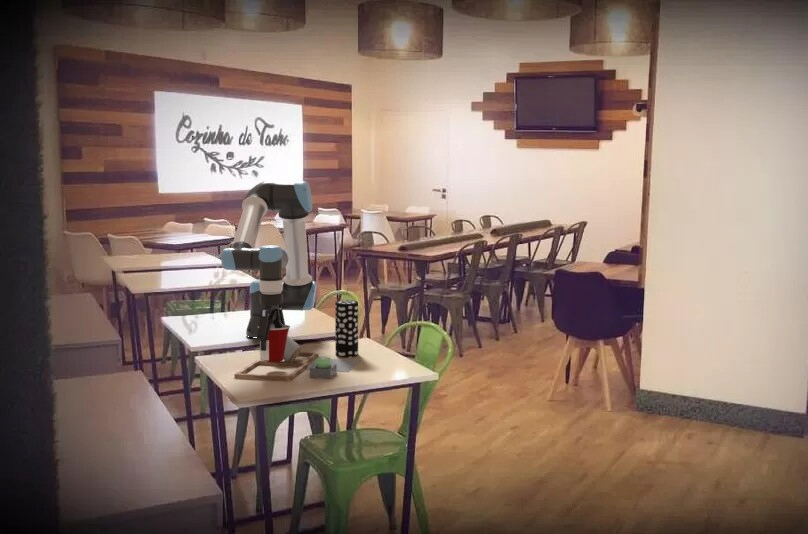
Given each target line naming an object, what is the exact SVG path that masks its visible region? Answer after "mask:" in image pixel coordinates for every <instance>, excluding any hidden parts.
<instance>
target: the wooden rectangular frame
mask: <svg viewBox="0 0 808 534" xmlns="http://www.w3.org/2000/svg"><path fill="white" fill-rule="evenodd" d="M297 357H307V358H306V359H304V360H303V361H302V362H294V361H293V362H286V361H280V362H267V361H266V360H259V359H258V360H257V359H256V360H255V361H253V362H251V363H249V364H248V365H247V366H245V367H244V368H241V369H240V370H238V371H237V372H235V373H234V379H244V380H245V379H247V380H258V381H259V380H263V381H276V382H291V381H293V379H295V378H296V377H297V376H299V375H300V374H301V373H302V372H303V371H305V370H304V369H305V368H307V367H308V365H309V364H311V363H312V362H313V361H314V360H316V358H318V357H319V352H311V351H310V352H306V351H301V352H300V353H299V355H298V356H297ZM257 366H275V367H291V368H292V367H293V368H296V369H295V370H293V372H291V373H290V374H289V375H269V374H257V373H256V374H254V373H248V372H250V371H252V370H253V369H254V368H256V367H257Z"/></svg>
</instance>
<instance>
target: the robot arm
mask: <svg viewBox="0 0 808 534" xmlns="http://www.w3.org/2000/svg"><path fill="white" fill-rule="evenodd" d="M313 205H314V204H313V195H312V191H311V186H310V184H309V182H308V181H305V180H298V179H295V180H265V181H264V180H263V181H262V182H259V183H257V184H255V186H253V187H252V188H250V190H249V191H248V192H247V193H246V195H245V196H244V198H243V200H242V204H241V209H242V212H241V216H240V219H239V222H238V226H237V229H236V232H235V235H234V239H233V241H232V245H231V247H228V248H227V247H226V248H224V249H222V252H221V261H220V262H221V266H222V268H223V270H226V271H227V270H228V271H234V272H235V271H259V273H258V274H259V279H255V280H253V281H251V282H250V285H249V308H250V310H249V312H250V313H249V314H250V316H249V320H248V324H247V327H246V330H245V331H246V333H245V334H246V335H247V336H249V337H257V339H256V340H257V341H259V356H260V357H259V359H260V360H269V340H267V339H268V335H269V331H270V327H271V325H274V326H275V328H282V325H286V322H285V321H286V320H285V317H284V312H283V311H300V312H301V311H302V312H303V311H311V310H313V309H314V305H315V301H316V294H317V287H318V284H317V282H316V281H315V280H313V277H312V275H311V274H309V267H308V266H309V264H308V249H307V247H308V244H307V229H306V228H307V227H306V218H308V217H309V215H310V212H311V211H313V207H314V206H313ZM268 212H278V218H279V219H280V220H282V228H283V242H284V243H283V244H284V248H282V247H281V246H280V245H276V244H275V245H272V244H270V245H262V246H260V247H259V248H255V246H256V242H257V238H258V236H259V231H260V228H261V224H262V221H263V217H264V216H265V215H266V214H267V213H268ZM284 269H285V270H286V271H285V272H286V273H285V274H286V275H285V276H284V277H283V270H284ZM258 326H259V328H258ZM246 335H245V336H246ZM247 336H246V337H247ZM249 337H248V338H249Z"/></svg>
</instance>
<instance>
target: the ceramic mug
mask: <svg viewBox="0 0 808 534" xmlns="http://www.w3.org/2000/svg"><path fill="white" fill-rule="evenodd" d="M300 352H302V347H301V345H299V344H298V343H297V342H296V341H294V340H293V339H292V338H291V337H290V336H289V335H287V340H286V347H285V352H284V358H283V361H284V362H294V361H296V359H297V358H298V357H299V356H298V355H299V353H300Z"/></svg>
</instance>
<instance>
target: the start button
mask: <svg viewBox="0 0 808 534" xmlns="http://www.w3.org/2000/svg"><path fill="white" fill-rule="evenodd" d="M331 359H332V358H331V357H328V356H320V357H319V356H318V357H316V358H315V360H316V367H317V368H328V367H331Z"/></svg>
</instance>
